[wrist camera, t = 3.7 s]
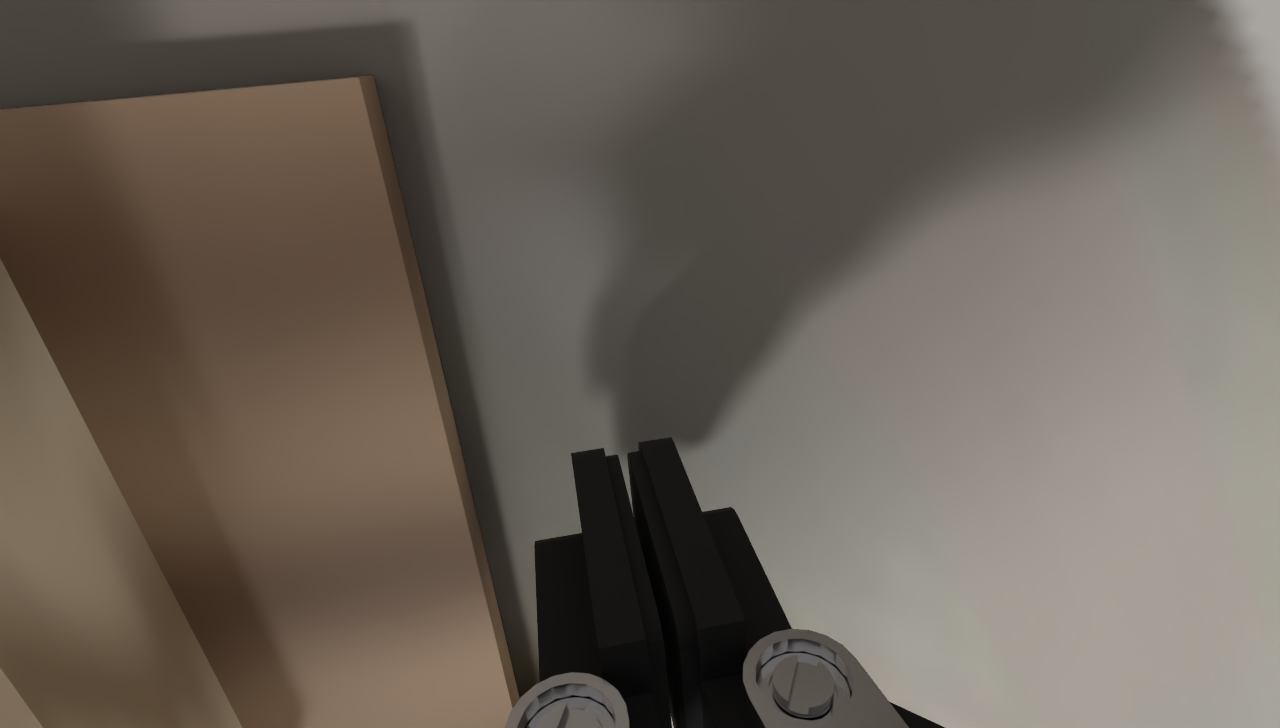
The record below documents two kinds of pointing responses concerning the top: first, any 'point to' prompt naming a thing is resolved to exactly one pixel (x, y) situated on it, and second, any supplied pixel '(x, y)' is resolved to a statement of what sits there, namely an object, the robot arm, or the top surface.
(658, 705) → the robot arm
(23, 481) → the cream rectangular slab
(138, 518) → the board
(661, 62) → the top surface
